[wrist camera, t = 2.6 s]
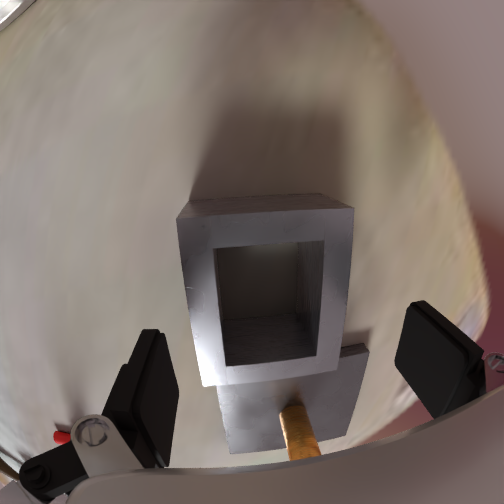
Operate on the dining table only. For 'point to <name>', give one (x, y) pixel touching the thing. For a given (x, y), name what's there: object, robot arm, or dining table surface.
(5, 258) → the dining table surface
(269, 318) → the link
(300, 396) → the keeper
